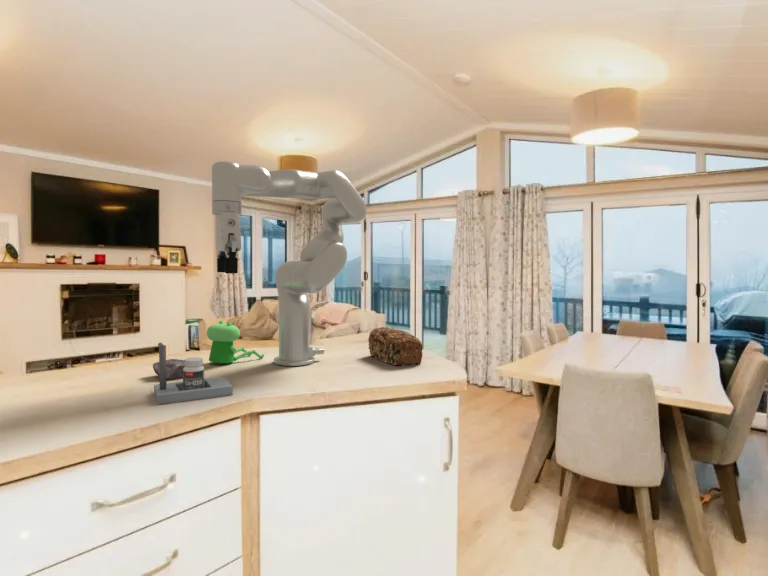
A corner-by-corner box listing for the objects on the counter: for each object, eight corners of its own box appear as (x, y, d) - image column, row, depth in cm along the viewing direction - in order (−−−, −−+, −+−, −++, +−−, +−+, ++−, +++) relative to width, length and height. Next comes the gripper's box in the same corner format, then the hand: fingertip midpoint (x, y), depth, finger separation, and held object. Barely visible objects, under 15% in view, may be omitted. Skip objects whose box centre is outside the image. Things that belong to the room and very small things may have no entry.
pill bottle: (183, 397, 108) (182, 361, 108) (182, 392, 113) (182, 357, 112) (205, 395, 110) (204, 360, 110) (204, 390, 114) (203, 356, 114)
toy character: (266, 362, 151) (268, 322, 151) (215, 367, 137) (218, 323, 137) (248, 358, 157) (251, 319, 157) (198, 362, 143) (201, 320, 143)
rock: (203, 376, 128) (203, 359, 128) (158, 382, 121) (158, 365, 121) (194, 370, 135) (194, 355, 135) (151, 376, 128) (150, 360, 127)
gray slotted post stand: (223, 384, 120) (222, 337, 119) (232, 394, 111) (232, 344, 110) (153, 392, 112) (153, 342, 111) (158, 404, 103) (157, 350, 102)
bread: (367, 356, 158) (367, 326, 158) (395, 353, 163) (395, 325, 163) (394, 367, 142) (394, 335, 141) (424, 364, 147) (424, 332, 146)
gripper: (249, 207, 121) (249, 273, 122) (233, 212, 135) (233, 271, 136) (219, 205, 117) (219, 273, 118) (206, 211, 132) (206, 271, 133)
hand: (227, 272), depth 127 cm, fingers open, 9 cm apart
